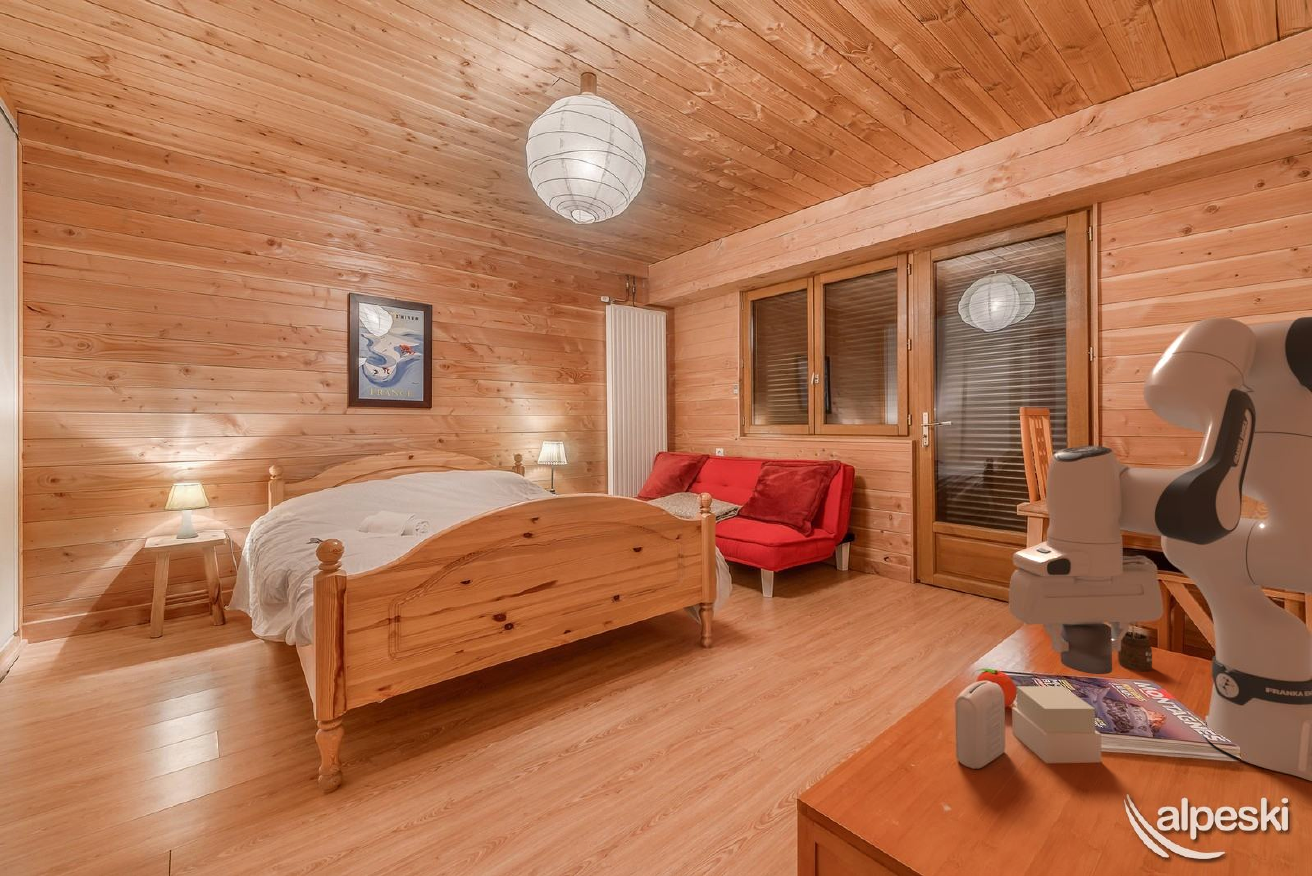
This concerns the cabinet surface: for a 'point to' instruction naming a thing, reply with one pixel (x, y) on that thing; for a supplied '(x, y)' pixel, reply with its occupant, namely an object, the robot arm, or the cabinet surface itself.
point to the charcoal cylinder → (1088, 647)
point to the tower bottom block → (1056, 742)
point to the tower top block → (1055, 709)
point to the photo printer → (980, 724)
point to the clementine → (1000, 683)
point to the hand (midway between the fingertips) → (1085, 650)
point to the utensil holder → (1135, 651)
